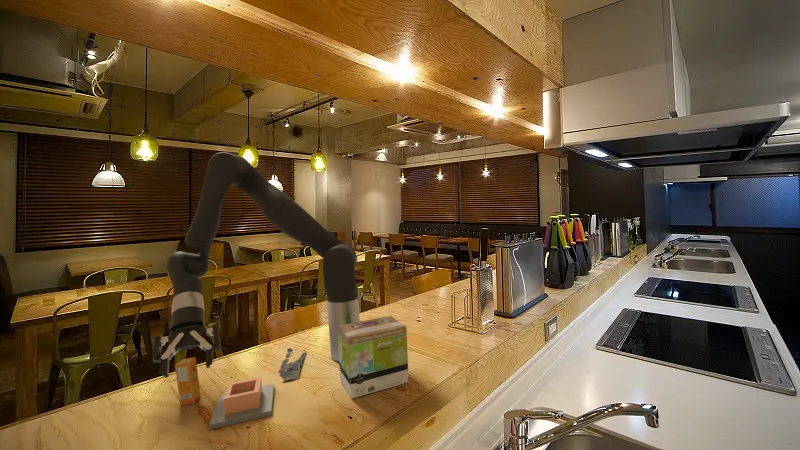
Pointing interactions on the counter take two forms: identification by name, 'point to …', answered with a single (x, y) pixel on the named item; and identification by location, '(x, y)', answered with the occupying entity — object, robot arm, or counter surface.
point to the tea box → (372, 355)
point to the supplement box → (187, 381)
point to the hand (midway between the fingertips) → (187, 371)
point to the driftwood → (291, 367)
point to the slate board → (264, 410)
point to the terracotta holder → (243, 395)
